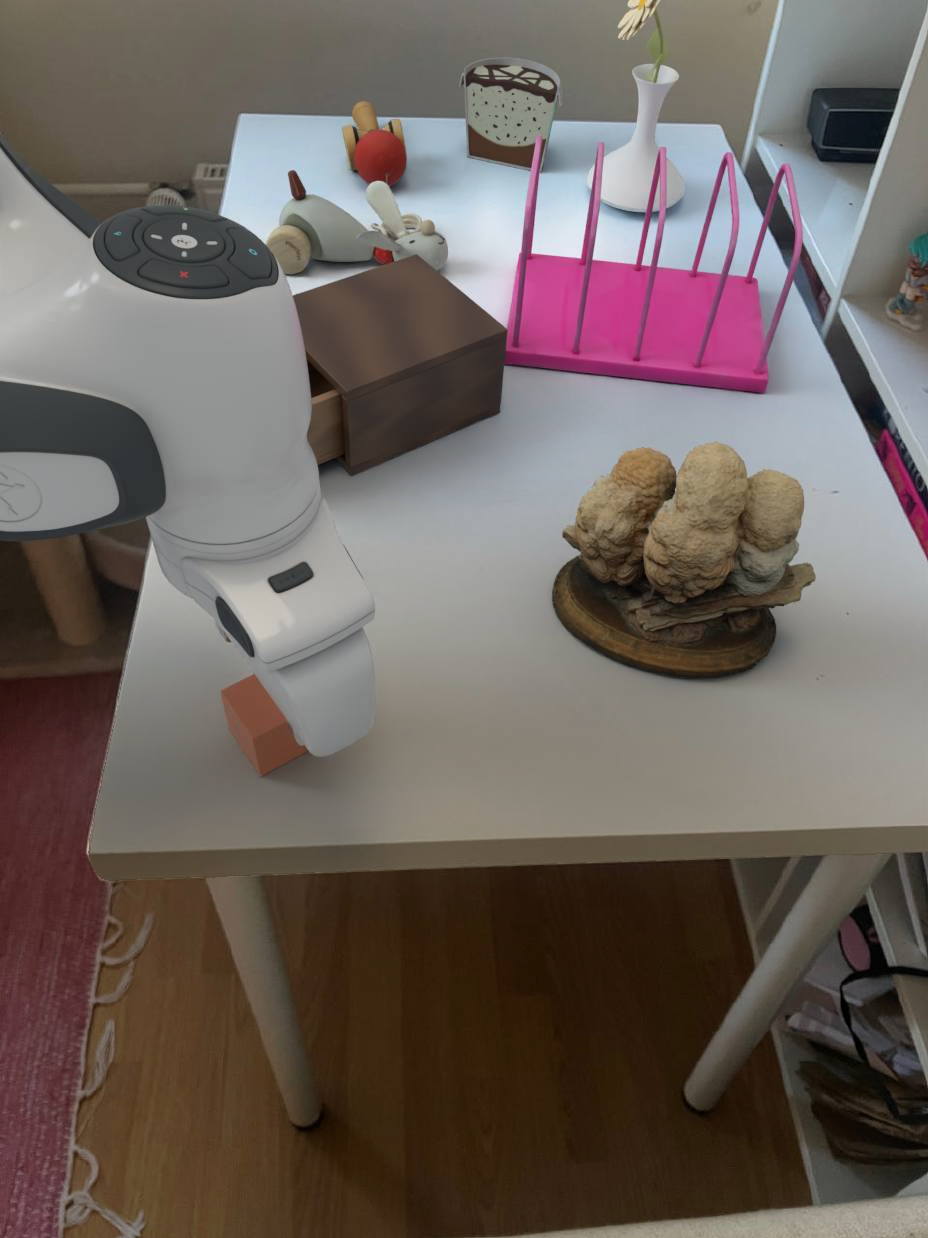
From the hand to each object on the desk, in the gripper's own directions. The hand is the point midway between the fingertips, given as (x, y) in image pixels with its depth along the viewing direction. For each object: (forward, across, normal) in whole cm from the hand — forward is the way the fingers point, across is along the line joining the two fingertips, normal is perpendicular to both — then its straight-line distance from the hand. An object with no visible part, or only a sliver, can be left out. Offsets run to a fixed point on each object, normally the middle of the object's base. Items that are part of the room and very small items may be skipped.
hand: (268, 680), depth 63 cm
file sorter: (+7, -23, +53) cm, 58 cm away
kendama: (+7, -66, +49) cm, 83 cm away
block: (+7, 0, 0) cm, 7 cm away
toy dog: (+7, -49, +36) cm, 61 cm away
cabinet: (+7, -27, +26) cm, 37 cm away
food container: (+7, -59, +64) cm, 88 cm away
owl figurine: (+7, +6, +30) cm, 31 cm away
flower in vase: (+7, -43, +70) cm, 82 cm away
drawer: (+6, -27, +15) cm, 31 cm away
